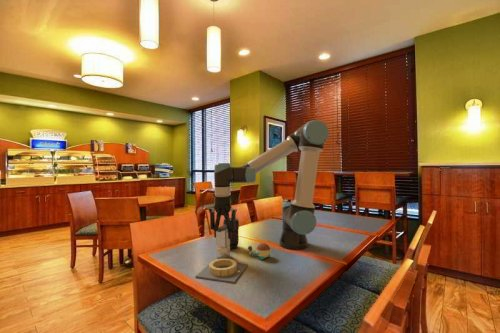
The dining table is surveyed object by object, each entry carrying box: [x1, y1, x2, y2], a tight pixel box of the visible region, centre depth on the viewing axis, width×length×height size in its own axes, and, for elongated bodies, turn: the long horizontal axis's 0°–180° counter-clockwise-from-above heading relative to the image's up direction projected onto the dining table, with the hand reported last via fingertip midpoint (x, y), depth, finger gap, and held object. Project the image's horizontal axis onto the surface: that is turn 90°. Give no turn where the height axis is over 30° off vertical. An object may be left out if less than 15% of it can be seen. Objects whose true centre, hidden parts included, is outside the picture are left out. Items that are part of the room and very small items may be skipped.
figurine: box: [247, 242, 271, 261], centre depth 111 cm, size 7×10×7 cm
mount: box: [195, 258, 248, 284], centre depth 96 cm, size 16×16×3 cm
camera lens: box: [222, 217, 240, 251], centre depth 123 cm, size 8×8×15 cm
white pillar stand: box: [215, 224, 231, 260], centre depth 111 cm, size 6×9×14 cm
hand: (223, 244), depth 111 cm, fingers open, 4 cm apart
